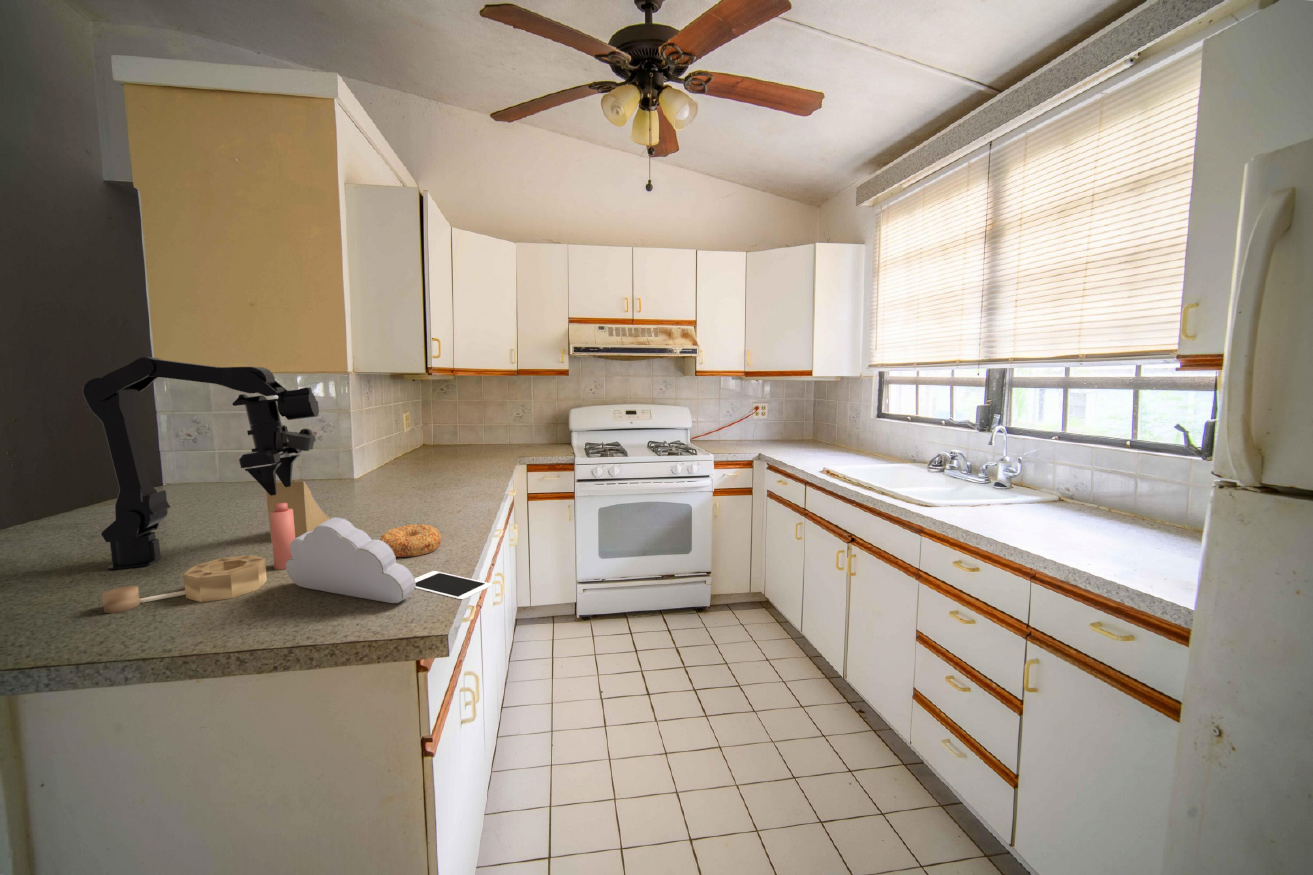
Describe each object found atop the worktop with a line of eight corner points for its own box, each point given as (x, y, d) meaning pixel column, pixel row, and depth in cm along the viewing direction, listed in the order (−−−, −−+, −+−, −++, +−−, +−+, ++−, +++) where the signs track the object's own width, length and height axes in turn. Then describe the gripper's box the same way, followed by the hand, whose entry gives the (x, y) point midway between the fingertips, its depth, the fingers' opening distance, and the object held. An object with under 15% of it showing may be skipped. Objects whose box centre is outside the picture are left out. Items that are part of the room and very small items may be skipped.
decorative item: (272, 594, 98) (265, 515, 96) (320, 575, 107) (315, 503, 105) (390, 616, 89) (385, 529, 87) (431, 594, 98) (427, 515, 96)
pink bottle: (271, 570, 109) (266, 507, 107) (277, 564, 112) (272, 502, 111) (294, 568, 110) (289, 505, 109) (299, 561, 114) (294, 501, 112)
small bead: (98, 614, 88) (95, 597, 88) (112, 604, 92) (110, 588, 92) (132, 610, 90) (130, 593, 90) (145, 600, 94) (143, 584, 94)
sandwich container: (335, 523, 144) (331, 469, 143) (308, 540, 129) (304, 480, 128) (301, 525, 143) (296, 470, 141) (270, 542, 128) (264, 481, 126)
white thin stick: (117, 608, 91) (116, 603, 91) (118, 606, 92) (117, 602, 92) (208, 590, 98) (207, 586, 98) (208, 589, 99) (207, 585, 99)
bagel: (401, 540, 130) (400, 520, 129) (452, 542, 128) (451, 522, 127) (365, 558, 117) (364, 536, 116) (422, 561, 115) (421, 539, 114)
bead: (177, 605, 92) (175, 580, 92) (203, 582, 102) (201, 560, 102) (254, 595, 96) (252, 571, 96) (271, 574, 107) (269, 553, 106)
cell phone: (434, 573, 109) (433, 570, 109) (493, 587, 102) (493, 583, 102) (401, 586, 102) (400, 583, 102) (462, 602, 95) (462, 599, 95)
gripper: (292, 421, 111) (308, 492, 113) (318, 415, 128) (331, 477, 131) (230, 429, 108) (248, 502, 110) (265, 421, 125) (280, 485, 128)
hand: (281, 490), depth 120 cm, fingers open, 9 cm apart
